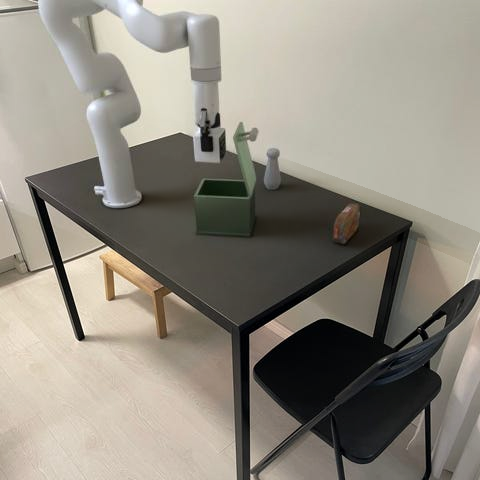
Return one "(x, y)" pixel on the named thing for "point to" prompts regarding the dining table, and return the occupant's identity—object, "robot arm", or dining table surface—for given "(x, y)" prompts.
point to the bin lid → (245, 155)
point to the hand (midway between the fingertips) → (210, 145)
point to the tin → (347, 223)
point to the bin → (224, 208)
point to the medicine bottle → (218, 143)
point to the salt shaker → (272, 170)
